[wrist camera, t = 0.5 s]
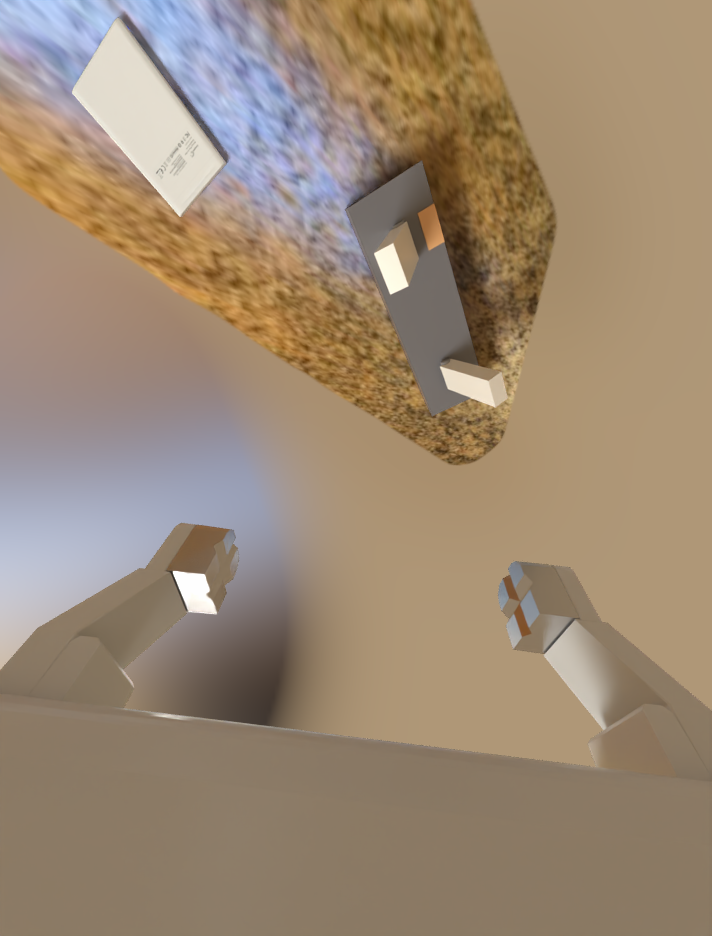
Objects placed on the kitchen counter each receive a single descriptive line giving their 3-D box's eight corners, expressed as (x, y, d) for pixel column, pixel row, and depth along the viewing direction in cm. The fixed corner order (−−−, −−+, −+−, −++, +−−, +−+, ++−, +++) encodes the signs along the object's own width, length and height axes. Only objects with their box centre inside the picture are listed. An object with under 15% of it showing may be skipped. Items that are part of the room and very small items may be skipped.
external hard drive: (125, 23, 32) (228, 163, 38) (79, 96, 34) (183, 217, 41) (117, 15, 30) (225, 161, 37) (70, 92, 33) (178, 217, 39)
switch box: (424, 402, 58) (432, 416, 54) (345, 209, 41) (347, 208, 37) (474, 378, 56) (486, 391, 52) (411, 166, 39) (422, 160, 35)
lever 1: (404, 266, 41) (391, 296, 34) (390, 227, 39) (373, 251, 31) (420, 258, 40) (409, 288, 33) (406, 218, 38) (392, 240, 31)
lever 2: (445, 389, 51) (495, 408, 42) (436, 364, 48) (488, 379, 40) (455, 381, 51) (507, 399, 42) (447, 356, 49) (501, 370, 40)
